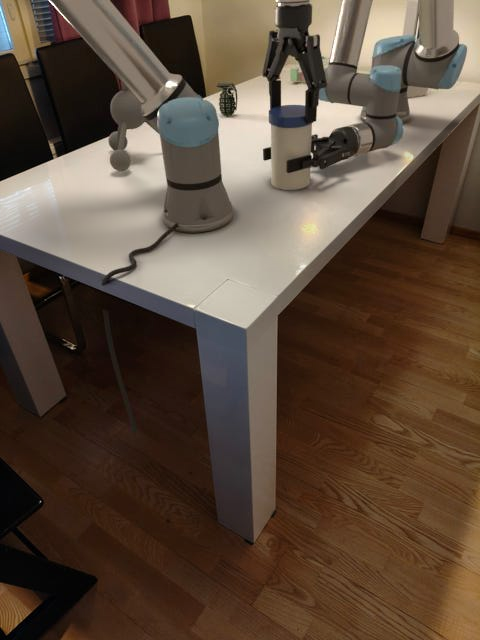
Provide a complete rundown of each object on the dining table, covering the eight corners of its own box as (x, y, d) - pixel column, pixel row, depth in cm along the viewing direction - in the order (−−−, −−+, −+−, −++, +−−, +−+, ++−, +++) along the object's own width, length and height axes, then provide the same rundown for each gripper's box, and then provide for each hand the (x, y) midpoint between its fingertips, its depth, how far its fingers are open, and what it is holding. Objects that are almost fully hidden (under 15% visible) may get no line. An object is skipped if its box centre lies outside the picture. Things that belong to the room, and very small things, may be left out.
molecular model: (194, 162, 134) (180, 38, 116) (114, 177, 128) (87, 49, 110) (171, 138, 152) (156, 27, 133) (100, 151, 146) (75, 36, 127)
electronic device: (396, 99, 175) (410, -1, 157) (386, 94, 181) (398, -2, 163) (427, 95, 178) (444, -4, 159) (416, 90, 183) (431, -5, 165)
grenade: (217, 117, 168) (214, 86, 162) (221, 112, 172) (219, 82, 166) (235, 117, 166) (233, 86, 160) (239, 113, 171) (238, 82, 165)
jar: (264, 186, 119) (263, 116, 109) (282, 172, 126) (282, 105, 116) (299, 192, 115) (301, 120, 105) (315, 178, 122) (319, 109, 112)
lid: (260, 124, 110) (260, 114, 109) (281, 112, 117) (281, 103, 116) (302, 129, 106) (302, 119, 104) (321, 116, 113) (322, 107, 111)
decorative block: (312, 54, 215) (354, 57, 206) (311, 70, 219) (352, 74, 210) (281, 65, 199) (325, 69, 190) (281, 83, 203) (324, 87, 194)
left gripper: (243, 3, 104) (248, 109, 117) (320, 8, 88) (315, 131, 101) (271, -1, 107) (273, 103, 121) (350, 4, 91) (341, 123, 105)
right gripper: (378, 168, 118) (302, 191, 110) (321, 144, 133) (251, 162, 125) (382, 137, 113) (303, 158, 105) (323, 116, 129) (250, 133, 120)
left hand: (292, 116), depth 111 cm, fingers open, 12 cm apart
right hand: (275, 160), depth 115 cm, fingers closed on jar, 9 cm apart
